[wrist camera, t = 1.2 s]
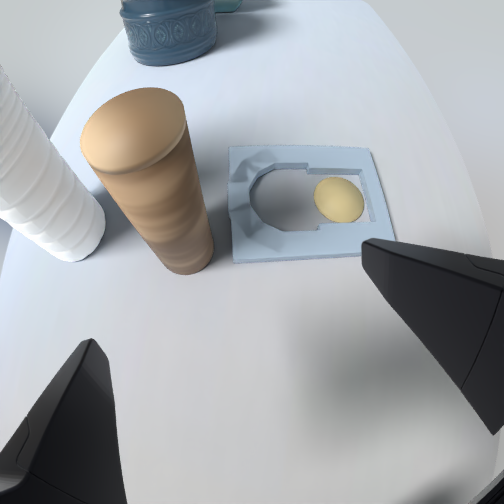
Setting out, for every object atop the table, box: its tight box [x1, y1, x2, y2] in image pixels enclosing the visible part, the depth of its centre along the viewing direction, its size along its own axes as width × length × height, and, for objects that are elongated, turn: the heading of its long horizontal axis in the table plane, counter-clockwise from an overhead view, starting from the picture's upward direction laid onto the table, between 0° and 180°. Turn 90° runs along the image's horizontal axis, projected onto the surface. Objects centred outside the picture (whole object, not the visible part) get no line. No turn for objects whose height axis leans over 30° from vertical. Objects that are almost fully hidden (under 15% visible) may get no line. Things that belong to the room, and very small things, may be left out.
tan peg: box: [80, 87, 214, 275], centre depth 17 cm, size 5×5×14 cm
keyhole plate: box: [227, 145, 395, 263], centre depth 26 cm, size 14×11×1 cm
